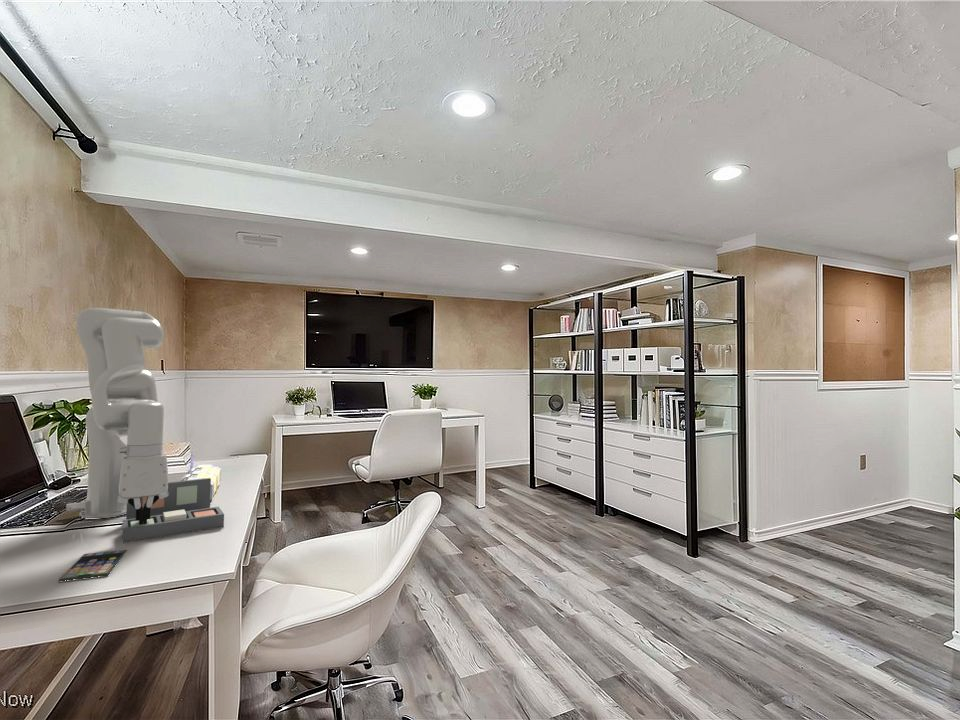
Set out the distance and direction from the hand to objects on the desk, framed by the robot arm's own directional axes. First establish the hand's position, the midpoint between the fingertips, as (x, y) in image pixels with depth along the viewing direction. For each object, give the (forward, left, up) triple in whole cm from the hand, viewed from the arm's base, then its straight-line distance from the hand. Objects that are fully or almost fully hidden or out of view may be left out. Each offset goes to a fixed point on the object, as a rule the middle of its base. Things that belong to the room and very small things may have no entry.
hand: (142, 522), depth 123 cm
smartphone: (-9, -16, -4) cm, 19 cm away
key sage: (0, 0, -3) cm, 3 cm away
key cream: (+7, 0, -1) cm, 7 cm away
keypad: (+7, +5, -3) cm, 9 cm away
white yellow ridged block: (+17, +35, -4) cm, 40 cm away
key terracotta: (+14, 0, -2) cm, 14 cm away
